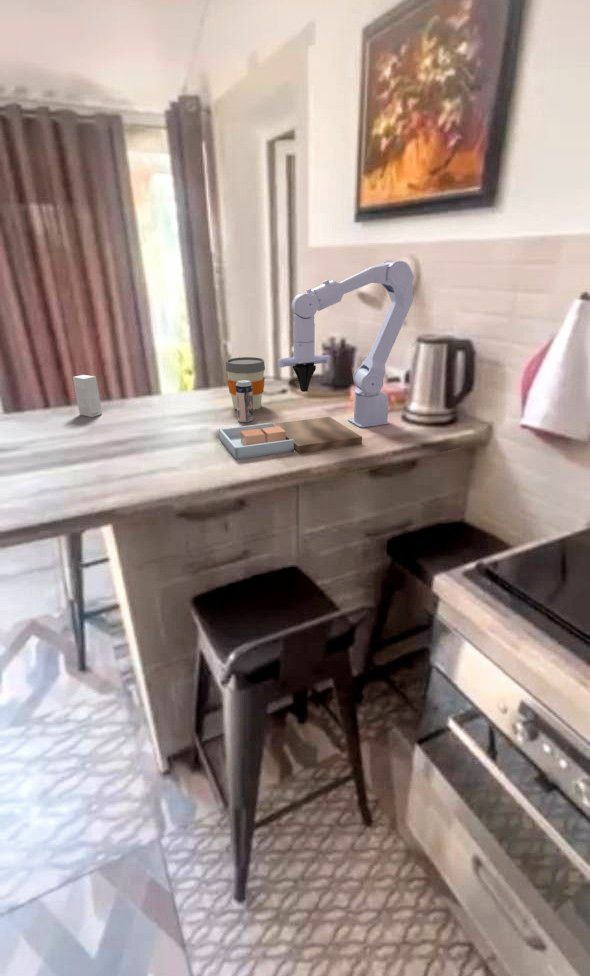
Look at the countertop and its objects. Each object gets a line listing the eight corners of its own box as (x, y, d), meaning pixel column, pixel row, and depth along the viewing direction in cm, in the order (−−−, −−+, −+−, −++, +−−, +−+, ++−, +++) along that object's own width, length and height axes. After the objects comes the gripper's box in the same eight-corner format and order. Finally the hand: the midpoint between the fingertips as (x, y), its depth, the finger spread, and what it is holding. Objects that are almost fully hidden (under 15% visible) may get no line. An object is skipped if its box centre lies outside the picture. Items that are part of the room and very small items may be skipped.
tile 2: (279, 436, 139) (279, 426, 137) (286, 442, 134) (285, 431, 133) (261, 439, 137) (261, 428, 136) (267, 444, 133) (267, 433, 131)
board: (329, 423, 151) (329, 416, 150) (361, 444, 134) (362, 436, 134) (271, 430, 145) (271, 423, 145) (298, 453, 128) (297, 446, 128)
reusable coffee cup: (265, 412, 163) (263, 364, 157) (225, 412, 163) (222, 364, 157) (267, 401, 174) (266, 356, 168) (230, 402, 174) (227, 357, 168)
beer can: (251, 423, 152) (249, 383, 147) (235, 422, 152) (233, 382, 148) (255, 419, 156) (253, 379, 151) (240, 418, 157) (238, 379, 152)
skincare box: (102, 414, 162) (96, 376, 157) (91, 417, 159) (84, 379, 154) (90, 411, 165) (83, 374, 160) (79, 414, 162) (71, 376, 157)
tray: (272, 432, 144) (272, 422, 142) (293, 451, 130) (293, 439, 129) (219, 439, 138) (218, 429, 137) (235, 459, 125) (235, 448, 124)
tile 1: (258, 439, 137) (258, 428, 135) (264, 445, 132) (264, 434, 131) (240, 442, 135) (240, 431, 134) (246, 447, 131) (245, 436, 129)
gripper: (322, 337, 145) (321, 385, 150) (273, 340, 140) (275, 390, 145) (333, 340, 139) (332, 390, 144) (282, 344, 134) (283, 395, 139)
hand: (304, 390), depth 144 cm, fingers closed
